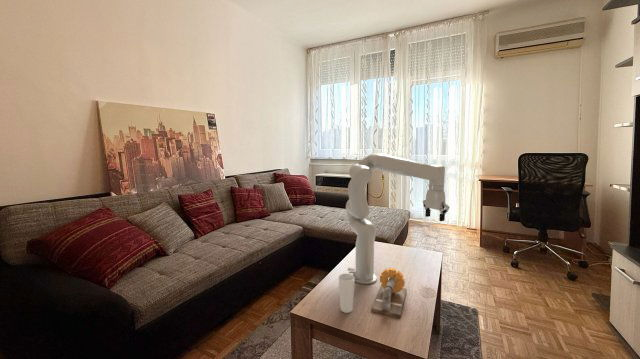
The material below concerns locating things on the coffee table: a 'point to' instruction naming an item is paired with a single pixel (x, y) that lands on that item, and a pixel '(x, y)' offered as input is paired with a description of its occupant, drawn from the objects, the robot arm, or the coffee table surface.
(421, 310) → the coffee table surface
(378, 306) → the pipe stand
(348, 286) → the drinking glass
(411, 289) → the coffee table surface
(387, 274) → the collar
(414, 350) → the coffee table surface
